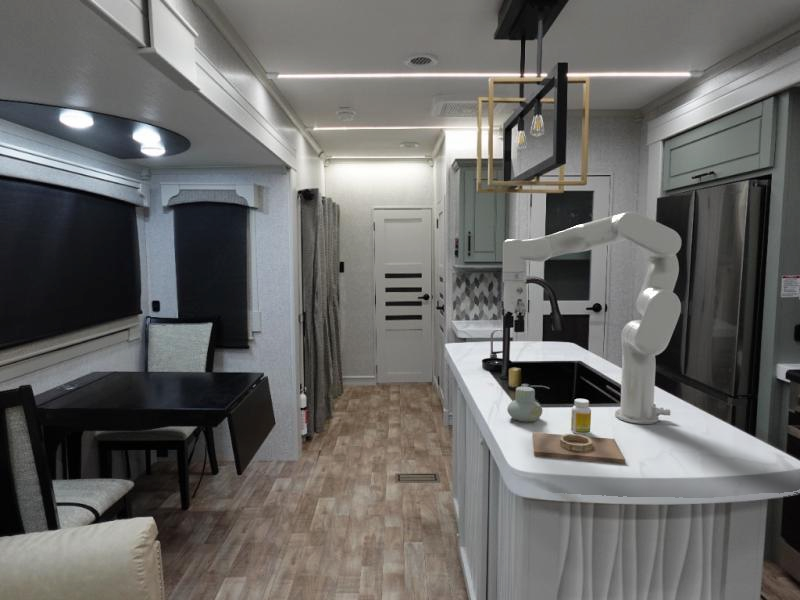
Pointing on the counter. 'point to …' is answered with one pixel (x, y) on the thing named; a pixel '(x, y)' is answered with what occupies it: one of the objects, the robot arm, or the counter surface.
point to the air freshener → (525, 405)
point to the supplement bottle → (581, 417)
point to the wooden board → (577, 447)
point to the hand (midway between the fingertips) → (513, 329)
